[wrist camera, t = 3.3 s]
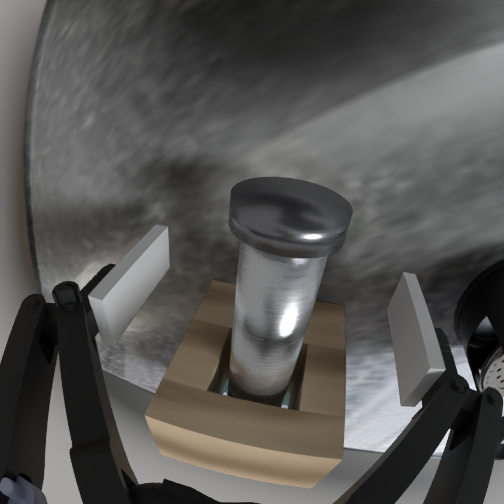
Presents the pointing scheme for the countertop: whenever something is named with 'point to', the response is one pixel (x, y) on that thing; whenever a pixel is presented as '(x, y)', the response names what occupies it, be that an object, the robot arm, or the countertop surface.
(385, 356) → the countertop surface
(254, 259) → the shaft
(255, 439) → the housing
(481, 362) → the french press
